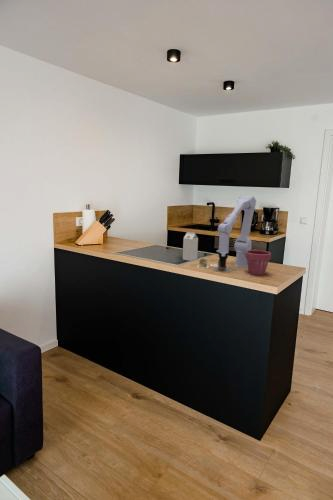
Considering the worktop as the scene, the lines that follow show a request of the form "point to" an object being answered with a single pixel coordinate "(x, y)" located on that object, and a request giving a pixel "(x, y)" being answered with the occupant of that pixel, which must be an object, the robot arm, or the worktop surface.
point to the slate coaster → (222, 269)
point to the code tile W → (214, 265)
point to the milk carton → (190, 246)
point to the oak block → (203, 262)
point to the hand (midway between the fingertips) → (222, 265)
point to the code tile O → (204, 267)
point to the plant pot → (257, 261)
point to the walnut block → (220, 265)
